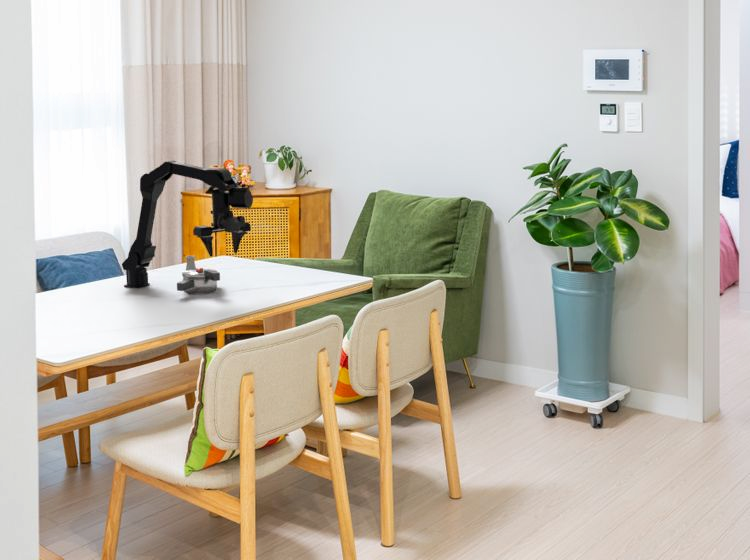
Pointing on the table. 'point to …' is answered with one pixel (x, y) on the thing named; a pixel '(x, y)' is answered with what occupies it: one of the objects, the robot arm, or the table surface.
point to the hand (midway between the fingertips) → (223, 254)
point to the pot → (197, 285)
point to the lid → (202, 274)
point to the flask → (190, 263)
